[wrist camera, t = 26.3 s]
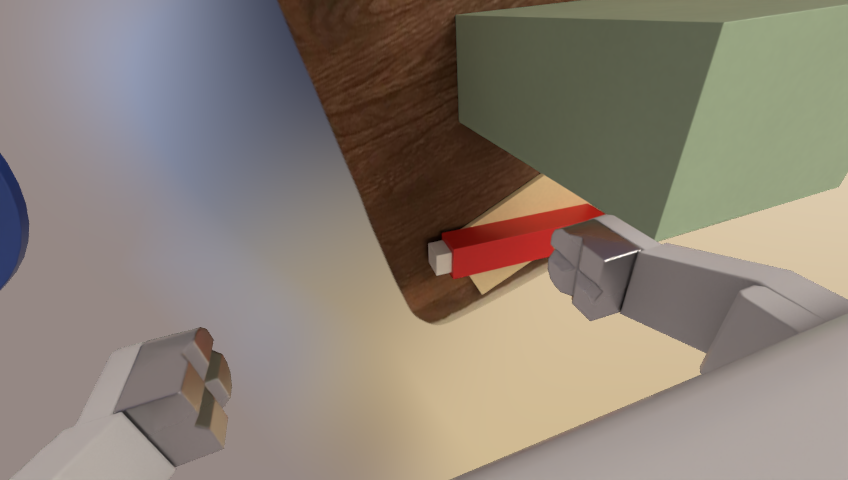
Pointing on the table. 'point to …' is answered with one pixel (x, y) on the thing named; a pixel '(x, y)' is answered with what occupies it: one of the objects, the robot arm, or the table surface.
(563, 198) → the mat
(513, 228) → the long red beam
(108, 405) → the robot arm
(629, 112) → the stand
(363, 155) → the table surface
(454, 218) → the table surface
